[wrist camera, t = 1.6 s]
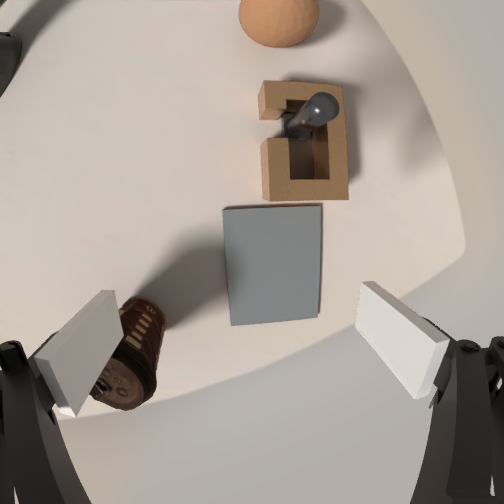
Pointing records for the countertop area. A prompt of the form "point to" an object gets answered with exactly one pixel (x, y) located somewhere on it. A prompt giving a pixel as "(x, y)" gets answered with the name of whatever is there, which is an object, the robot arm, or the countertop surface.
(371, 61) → the countertop surface
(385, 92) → the countertop surface
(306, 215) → the mat
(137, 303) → the coffee cup
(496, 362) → the robot arm
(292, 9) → the egg
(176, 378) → the countertop surface
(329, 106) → the post stand
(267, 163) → the c link
